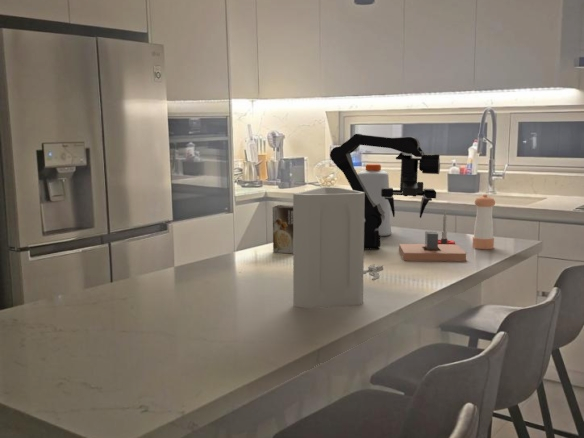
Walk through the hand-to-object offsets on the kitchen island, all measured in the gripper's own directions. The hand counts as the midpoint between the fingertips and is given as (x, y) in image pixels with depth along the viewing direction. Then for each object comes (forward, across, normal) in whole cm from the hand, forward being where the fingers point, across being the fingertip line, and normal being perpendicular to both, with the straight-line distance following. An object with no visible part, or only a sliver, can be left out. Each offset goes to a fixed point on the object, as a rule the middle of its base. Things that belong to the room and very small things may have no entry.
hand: (407, 217), depth 233 cm
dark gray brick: (+12, +8, -10) cm, 17 cm away
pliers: (+12, -14, -37) cm, 41 cm away
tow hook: (+12, +15, +14) cm, 24 cm away
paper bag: (+12, -24, -68) cm, 73 cm away
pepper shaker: (+11, +28, +7) cm, 31 cm away
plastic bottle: (+12, -10, +34) cm, 38 cm away
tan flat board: (+12, +8, -10) cm, 17 cm away
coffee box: (+13, -41, -6) cm, 44 cm away
